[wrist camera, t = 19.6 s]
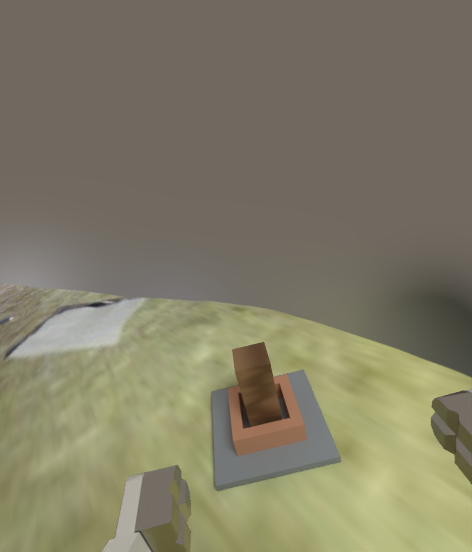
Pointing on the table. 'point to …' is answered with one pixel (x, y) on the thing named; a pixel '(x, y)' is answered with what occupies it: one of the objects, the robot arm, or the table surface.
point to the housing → (269, 435)
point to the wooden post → (257, 384)
